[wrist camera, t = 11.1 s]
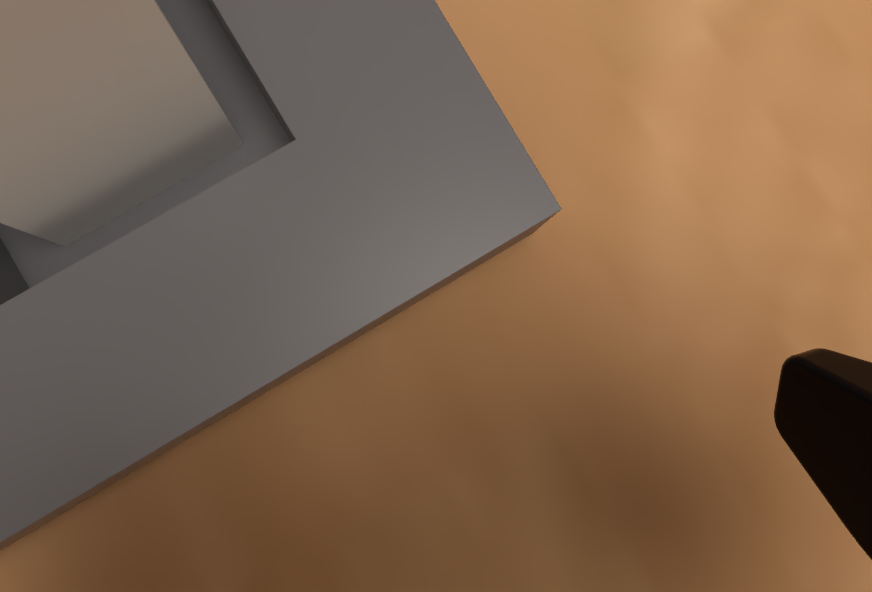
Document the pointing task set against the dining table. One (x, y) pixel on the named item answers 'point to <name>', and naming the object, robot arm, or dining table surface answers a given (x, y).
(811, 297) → the dining table surface
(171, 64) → the grey rectangular block
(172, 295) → the grey slotted slab
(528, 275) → the dining table surface
